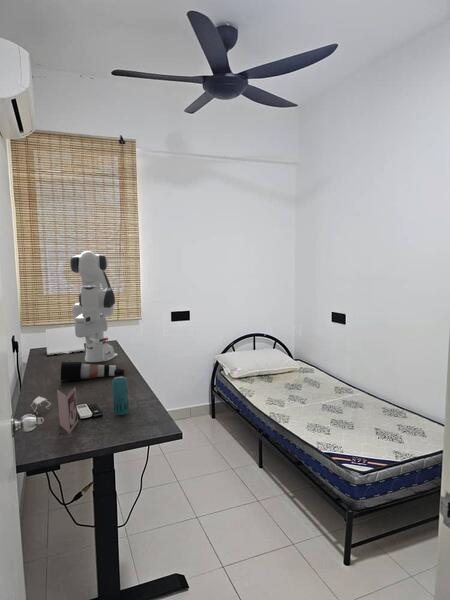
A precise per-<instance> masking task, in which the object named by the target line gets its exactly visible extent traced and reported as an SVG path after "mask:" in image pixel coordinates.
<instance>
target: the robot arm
mask: <svg viewBox="0 0 450 600" xmlns="http://www.w3.org/2000/svg"><path fill="white" fill-rule="evenodd" d="M69 260H70V261H69V267H70V269H71V272H73V273H77V274H78V273H79V276H80V279H81V280H80V281H81V292H80V294H79V295H78V302H76V303H74V304H73V306H72V307H71V313H72V315H73V317H75V318H74V323H75V325H74V327H75V335H76V336H77V337H79V338H82V337H83V338H85V339H86V340H87V344H91V343H92V340H90V338H91V339H99V342H103V344H102V345H100V346H97V347H86V346H85V356H84V362H86V363H100V362H107V361H110V360H112V359H113V358H116V357H118V356H119V355H118V353H116V352H115V349H114V347H113V346H112V345H110V344H108V342H107V341H109V337H104V332H106V331H107V330H108V323H107V319H106V318H107V317H110V316H112V314H113V313H114V311H115V310H114V305H115V303H116V295H115V293H114V290H113V289H112V286H111V283H110V281H109V279H108V275H107V274H106V272H105V271H106V269H108V268H107V267H108V263H109V261H108V259H107V257H106V255H104V254H99V253H98V254H95V252H93V251H89V250H86V251H83V252H82V253H81V254H80V255H73V256H71V258H70V259H69Z"/></svg>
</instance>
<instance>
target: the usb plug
mask: <svg viewBox="0 0 450 600" xmlns="http://www.w3.org/2000/svg"><path fill="white" fill-rule="evenodd" d="M90 340H92V343H91V344H87V340H86V338H85V341H84V342H85V348H86V347H97V346H100V345H102V344H103V342H99V339H91V338H90Z"/></svg>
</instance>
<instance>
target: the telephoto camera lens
mask: <svg viewBox="0 0 450 600" xmlns="http://www.w3.org/2000/svg"><path fill="white" fill-rule="evenodd" d="M60 364H61V366H60V381H82V380H81V379H82V378H83V379H85V378H89V379H90V378H98V377H101V378H102V377H103V378H104V377H115V376H114V371H115V370H117V369H118V368H117V366H116V365H115V364H113V365H109V364H89V363H87V364H86V363H83V362H82V361H62V362H61V363H60ZM122 369H123V370H124V374H125V373H126V368H122Z"/></svg>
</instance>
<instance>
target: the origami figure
mask: <svg viewBox="0 0 450 600" xmlns="http://www.w3.org/2000/svg"><path fill="white" fill-rule="evenodd" d="M44 402H46V403H48V405H46V406H45V408H46V409H47V410H49V407H50V406H51V405H52V403H51V402H50V401H48V399H47V398H45V397H42V396H40V395H38V396H37V397H36V398H35V399H34V400H33V401H32V404H30V407H31V408H32V409H33V413H36V415H38V413H39V412H38V411H37V408H38V406H40V407H43V405H42V403H44ZM34 404H35V405H36V406H35V408H34V407H33V405H34Z"/></svg>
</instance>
